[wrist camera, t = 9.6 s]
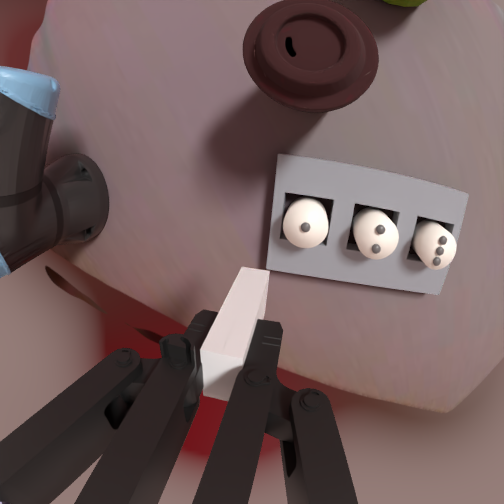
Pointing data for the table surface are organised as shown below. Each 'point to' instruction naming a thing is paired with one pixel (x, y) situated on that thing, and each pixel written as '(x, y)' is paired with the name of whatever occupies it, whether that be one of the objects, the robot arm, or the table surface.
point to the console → (343, 200)
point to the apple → (405, 2)
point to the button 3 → (433, 244)
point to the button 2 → (374, 233)
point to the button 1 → (305, 222)
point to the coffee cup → (310, 54)
